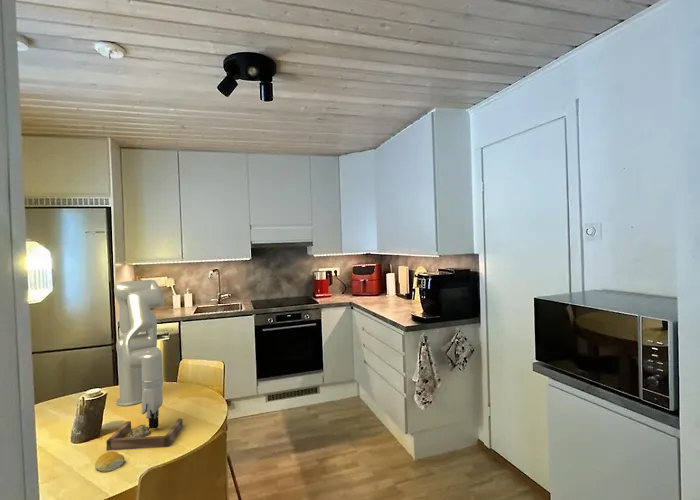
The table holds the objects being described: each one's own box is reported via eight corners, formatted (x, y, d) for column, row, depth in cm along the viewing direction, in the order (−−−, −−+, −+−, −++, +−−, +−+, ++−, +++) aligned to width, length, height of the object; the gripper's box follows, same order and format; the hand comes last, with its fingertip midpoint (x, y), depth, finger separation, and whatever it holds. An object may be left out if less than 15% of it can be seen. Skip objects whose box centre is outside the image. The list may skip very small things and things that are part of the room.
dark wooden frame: (127, 429, 163) (126, 421, 163) (182, 426, 165) (182, 418, 165) (106, 450, 147) (106, 441, 147) (168, 446, 149) (168, 437, 149)
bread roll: (114, 456, 143) (114, 445, 143) (128, 463, 138) (128, 452, 138) (89, 467, 136) (89, 456, 136) (103, 475, 131) (102, 463, 131)
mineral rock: (129, 426, 162) (150, 418, 163) (132, 435, 162) (153, 428, 164) (121, 439, 151) (143, 431, 153) (125, 450, 152) (147, 441, 154)
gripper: (150, 377, 169) (151, 419, 170) (134, 390, 154) (136, 437, 155) (168, 376, 170) (170, 418, 170) (154, 389, 155) (156, 435, 155)
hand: (153, 427), depth 162 cm, fingers closed
